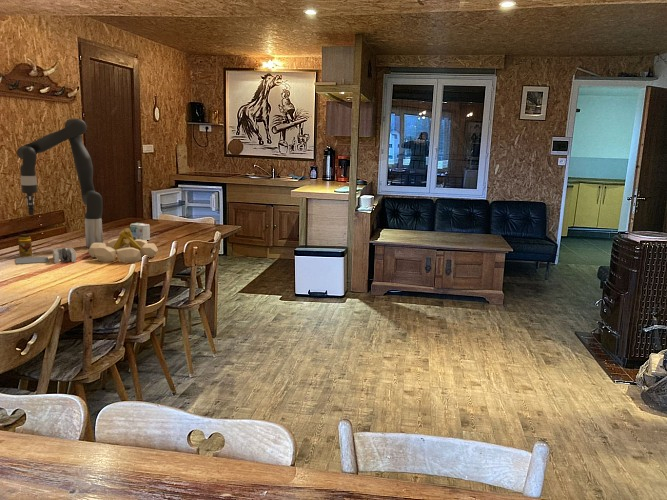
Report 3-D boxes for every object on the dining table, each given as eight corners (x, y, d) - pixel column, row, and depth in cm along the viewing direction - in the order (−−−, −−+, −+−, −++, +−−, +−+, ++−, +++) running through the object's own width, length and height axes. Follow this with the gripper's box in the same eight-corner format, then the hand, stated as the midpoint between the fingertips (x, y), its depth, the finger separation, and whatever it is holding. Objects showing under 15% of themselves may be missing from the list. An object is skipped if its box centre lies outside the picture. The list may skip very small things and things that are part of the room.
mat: (47, 257, 296) (47, 256, 296) (49, 262, 285) (49, 261, 285) (15, 259, 288) (15, 258, 288) (16, 264, 277) (16, 263, 277)
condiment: (25, 257, 292) (24, 235, 290) (13, 256, 294) (11, 234, 292) (36, 255, 299) (35, 233, 296) (24, 253, 301) (22, 232, 299)
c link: (53, 257, 295) (52, 248, 294) (73, 256, 300) (72, 247, 299) (55, 263, 283) (54, 254, 282) (76, 262, 288) (75, 252, 287)
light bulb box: (130, 240, 352) (129, 223, 349) (137, 238, 358) (136, 222, 356) (143, 242, 348) (142, 225, 346) (150, 240, 354) (150, 224, 352)
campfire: (126, 266, 284) (125, 234, 281) (75, 259, 295) (74, 228, 292) (168, 254, 316) (167, 225, 313) (121, 248, 328) (120, 220, 324)
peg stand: (68, 260, 291) (68, 247, 289) (69, 261, 287) (68, 248, 286) (60, 260, 289) (59, 247, 287) (61, 262, 285) (60, 249, 284)
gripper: (37, 185, 289) (39, 215, 293) (36, 182, 301) (38, 211, 305) (20, 185, 286) (23, 216, 289) (21, 182, 298) (23, 212, 301)
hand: (31, 213), depth 297 cm, fingers open, 8 cm apart
